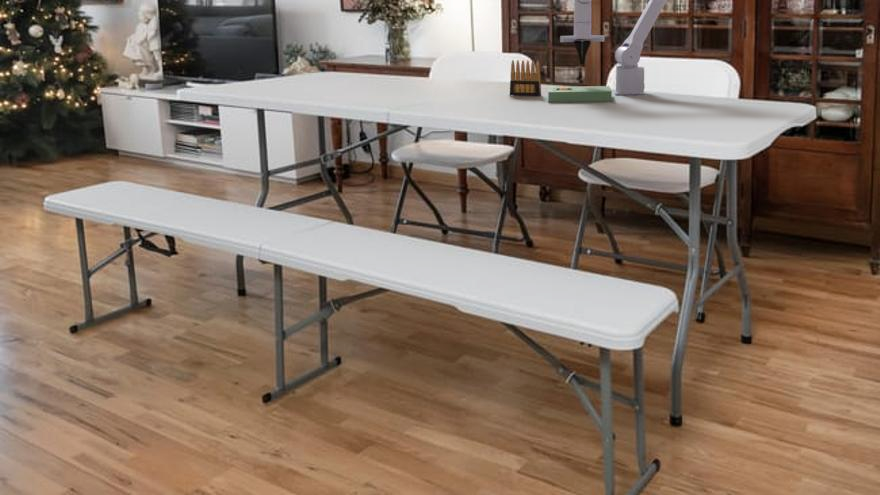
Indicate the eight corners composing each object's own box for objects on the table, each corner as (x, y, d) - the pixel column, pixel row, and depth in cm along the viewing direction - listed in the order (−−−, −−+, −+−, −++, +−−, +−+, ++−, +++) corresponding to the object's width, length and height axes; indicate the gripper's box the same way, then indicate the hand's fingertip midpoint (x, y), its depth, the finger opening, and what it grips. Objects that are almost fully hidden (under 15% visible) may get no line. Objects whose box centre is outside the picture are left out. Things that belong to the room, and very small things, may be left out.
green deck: (609, 96, 331) (609, 86, 330) (611, 101, 317) (611, 91, 316) (548, 96, 333) (548, 86, 332) (548, 102, 320) (548, 92, 319)
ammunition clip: (541, 95, 337) (541, 59, 333) (539, 96, 335) (539, 60, 332) (511, 95, 341) (511, 59, 337) (509, 95, 339) (509, 60, 336)
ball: (558, 100, 327) (567, 100, 325) (555, 92, 325) (564, 92, 323) (562, 93, 329) (571, 93, 327) (559, 85, 327) (568, 85, 325)
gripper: (604, 21, 331) (603, 62, 335) (560, 21, 333) (559, 63, 336) (605, 22, 324) (604, 64, 328) (560, 23, 326) (559, 65, 330)
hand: (581, 64), depth 332 cm, fingers closed
